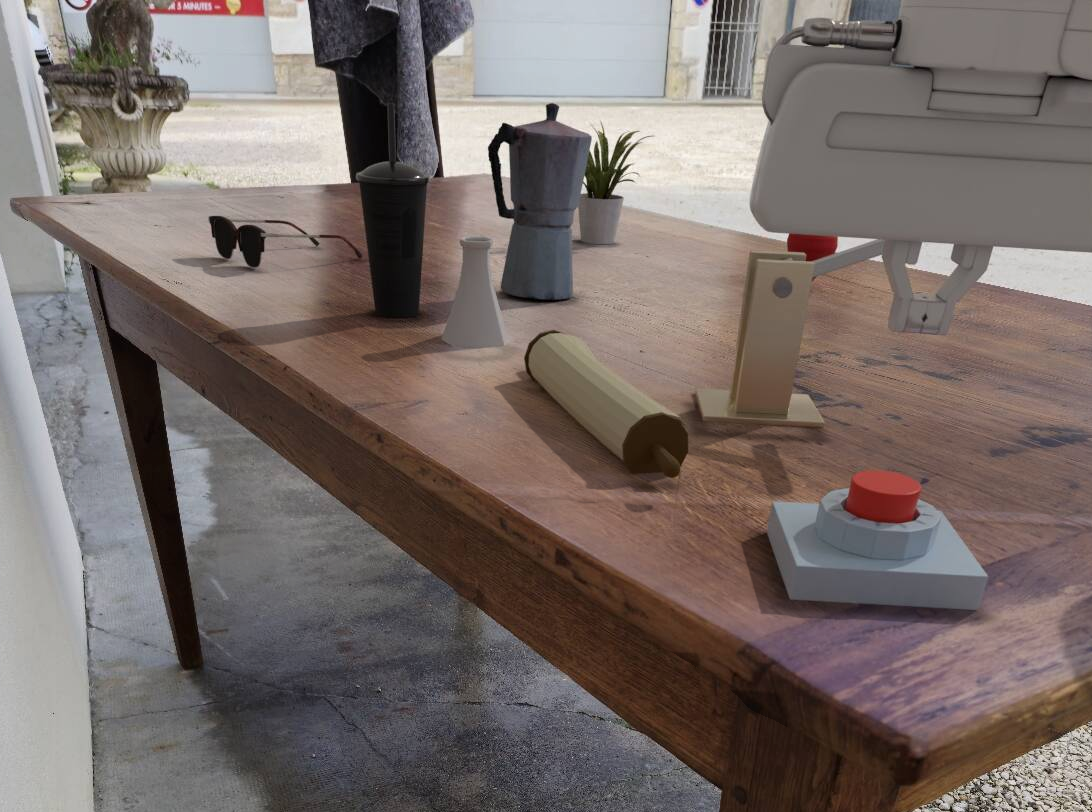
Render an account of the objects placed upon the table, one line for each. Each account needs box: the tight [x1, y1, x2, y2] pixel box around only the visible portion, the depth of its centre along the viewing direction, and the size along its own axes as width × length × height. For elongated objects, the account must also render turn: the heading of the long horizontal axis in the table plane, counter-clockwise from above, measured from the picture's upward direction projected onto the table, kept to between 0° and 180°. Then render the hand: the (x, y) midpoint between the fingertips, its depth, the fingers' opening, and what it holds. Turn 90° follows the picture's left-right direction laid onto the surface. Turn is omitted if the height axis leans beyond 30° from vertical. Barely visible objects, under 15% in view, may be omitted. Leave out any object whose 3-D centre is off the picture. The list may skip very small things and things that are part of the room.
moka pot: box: [487, 102, 593, 301], centre depth 121 cm, size 10×15×20 cm, turn 136°
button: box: [845, 470, 922, 524], centre depth 62 cm, size 4×4×2 cm
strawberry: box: [786, 234, 839, 282], centre depth 135 cm, size 6×8×10 cm
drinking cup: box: [355, 102, 431, 319], centre depth 111 cm, size 8×8×20 cm
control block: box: [766, 487, 989, 611], centre depth 64 cm, size 11×10×4 cm
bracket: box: [694, 249, 826, 429], centre depth 86 cm, size 10×8×13 cm
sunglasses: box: [207, 215, 363, 269], centre depth 140 cm, size 14×16×5 cm
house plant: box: [577, 120, 654, 245], centre depth 157 cm, size 14×14×16 cm
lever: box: [784, 239, 885, 278], centre depth 82 cm, size 16×10×2 cm, turn 87°
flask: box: [441, 235, 510, 349], centre depth 103 cm, size 7×7×10 cm
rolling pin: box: [523, 329, 691, 479], centre depth 84 cm, size 32×6×5 cm, turn 16°
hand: (916, 331), depth 57 cm, fingers closed
